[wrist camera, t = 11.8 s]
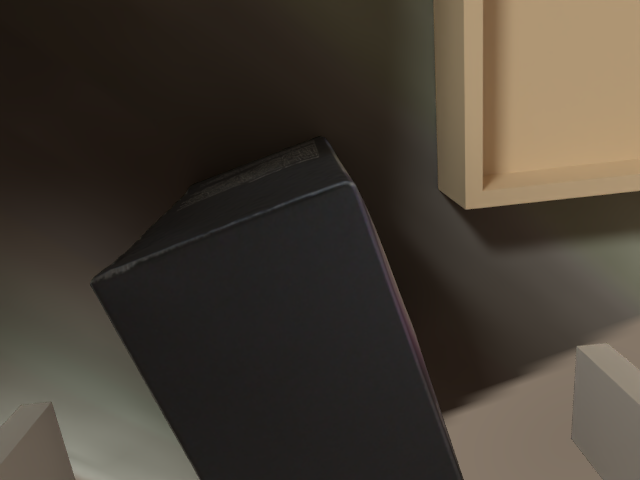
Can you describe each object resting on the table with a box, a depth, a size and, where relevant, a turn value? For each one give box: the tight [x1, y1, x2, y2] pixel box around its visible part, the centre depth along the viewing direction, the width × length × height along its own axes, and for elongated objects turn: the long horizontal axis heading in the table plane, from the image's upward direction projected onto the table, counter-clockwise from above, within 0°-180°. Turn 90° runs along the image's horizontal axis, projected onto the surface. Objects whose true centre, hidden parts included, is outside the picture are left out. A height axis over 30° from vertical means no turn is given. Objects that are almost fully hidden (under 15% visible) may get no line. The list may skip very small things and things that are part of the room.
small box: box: [90, 137, 464, 480], centre depth 16 cm, size 11×6×10 cm, turn 21°
